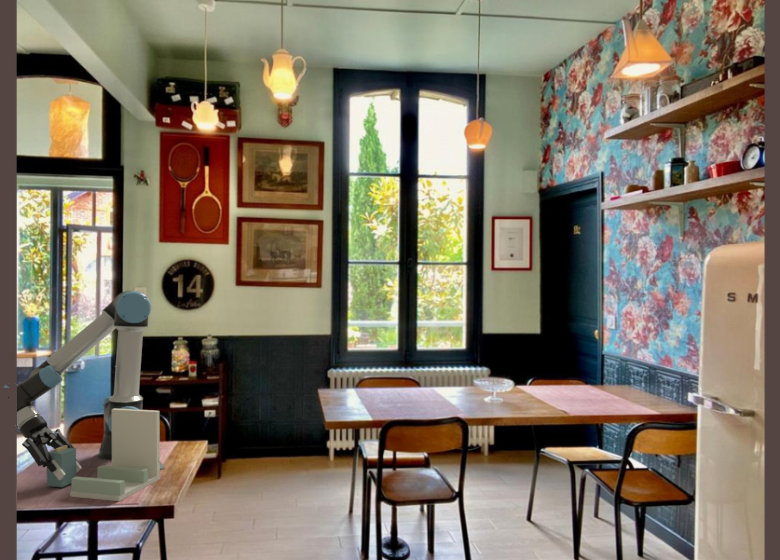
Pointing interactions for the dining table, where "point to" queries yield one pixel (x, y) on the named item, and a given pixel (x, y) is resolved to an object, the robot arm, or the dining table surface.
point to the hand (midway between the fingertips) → (70, 473)
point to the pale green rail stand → (126, 458)
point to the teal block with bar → (62, 466)
